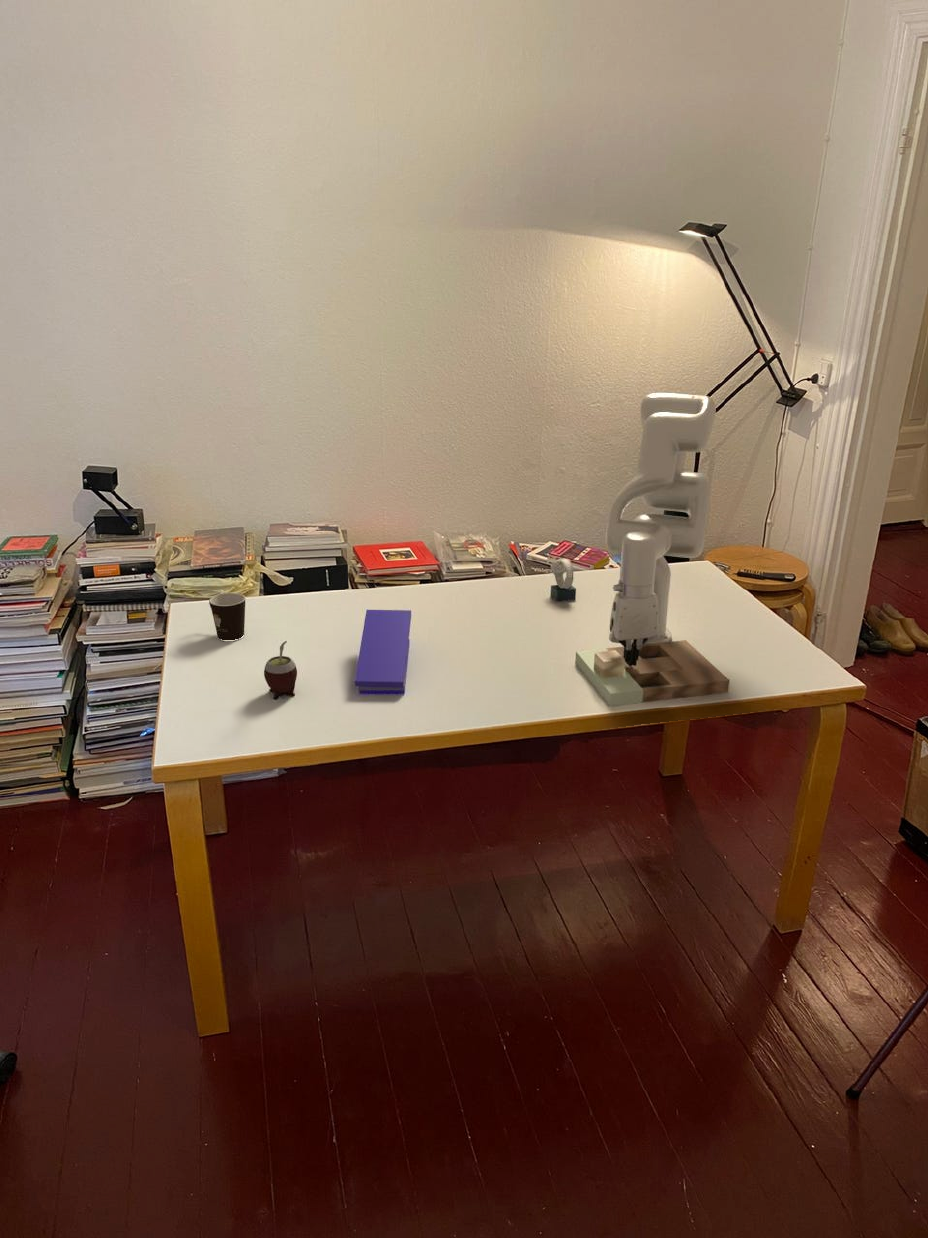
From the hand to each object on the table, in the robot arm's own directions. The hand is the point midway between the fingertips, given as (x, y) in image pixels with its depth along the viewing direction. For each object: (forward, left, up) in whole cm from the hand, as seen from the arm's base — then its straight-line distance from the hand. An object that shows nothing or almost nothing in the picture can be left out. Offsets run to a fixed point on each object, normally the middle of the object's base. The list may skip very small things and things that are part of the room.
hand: (630, 663), depth 226 cm
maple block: (-3, -5, -1) cm, 6 cm away
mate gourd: (-58, -52, -4) cm, 78 cm away
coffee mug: (-92, -37, -4) cm, 99 cm away
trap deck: (+6, +7, -4) cm, 10 cm away
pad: (-3, -4, -4) cm, 7 cm away
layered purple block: (-48, -29, -5) cm, 56 cm away
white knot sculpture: (-38, +34, -4) cm, 51 cm away
